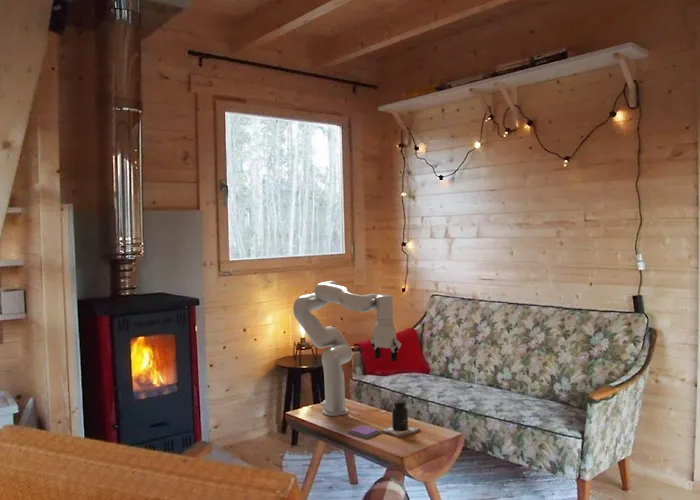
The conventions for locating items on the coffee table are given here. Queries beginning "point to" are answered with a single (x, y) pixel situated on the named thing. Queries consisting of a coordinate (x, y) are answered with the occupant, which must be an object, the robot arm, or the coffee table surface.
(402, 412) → the supplement bottle
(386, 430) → the white square tile
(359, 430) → the ink pad
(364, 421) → the coffee table surface
